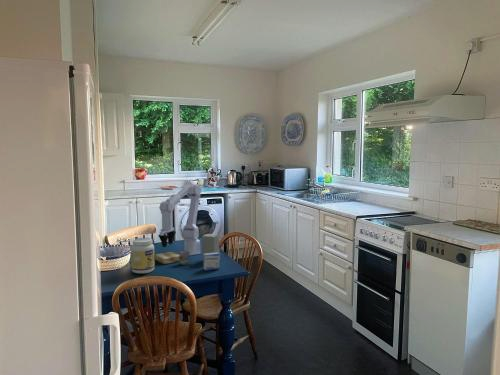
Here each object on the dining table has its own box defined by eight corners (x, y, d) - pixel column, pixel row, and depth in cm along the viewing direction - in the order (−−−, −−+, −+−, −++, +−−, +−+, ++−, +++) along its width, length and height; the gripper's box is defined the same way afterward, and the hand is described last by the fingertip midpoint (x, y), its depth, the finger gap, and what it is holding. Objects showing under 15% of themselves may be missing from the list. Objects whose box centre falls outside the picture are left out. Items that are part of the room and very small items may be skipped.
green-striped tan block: (173, 256, 234) (173, 251, 234) (182, 260, 225) (182, 255, 224) (155, 259, 227) (154, 254, 226) (163, 264, 217) (163, 259, 217)
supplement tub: (148, 274, 198) (148, 243, 197) (127, 273, 201) (126, 242, 199) (158, 267, 210) (157, 237, 209) (138, 266, 213) (137, 237, 211)
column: (185, 262, 222) (185, 250, 221) (189, 263, 218) (189, 251, 218) (179, 263, 219) (179, 251, 219) (182, 265, 216) (182, 252, 215)
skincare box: (220, 260, 226) (220, 234, 224) (214, 263, 219) (213, 236, 218) (208, 258, 229) (207, 232, 228) (201, 261, 223) (201, 235, 221)
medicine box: (205, 270, 205) (205, 255, 205) (203, 268, 209) (203, 253, 209) (219, 269, 209) (219, 253, 208) (216, 266, 213) (216, 251, 212)
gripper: (166, 219, 226) (166, 242, 227) (154, 224, 212) (155, 247, 213) (177, 220, 225) (177, 242, 226) (166, 224, 211) (166, 248, 212)
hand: (167, 245), depth 219 cm, fingers open, 7 cm apart
